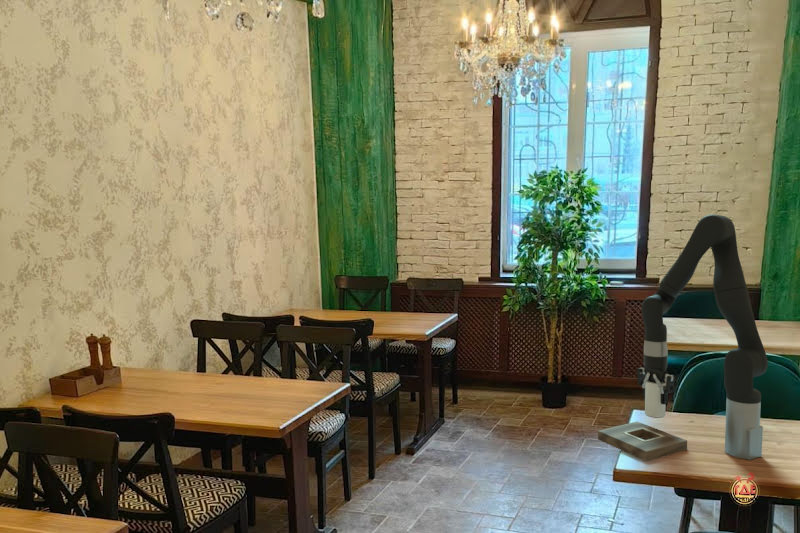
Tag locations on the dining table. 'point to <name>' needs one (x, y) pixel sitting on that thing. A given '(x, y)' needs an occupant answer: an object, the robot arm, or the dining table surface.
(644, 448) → the socket board
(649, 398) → the can
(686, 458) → the dining table surface
